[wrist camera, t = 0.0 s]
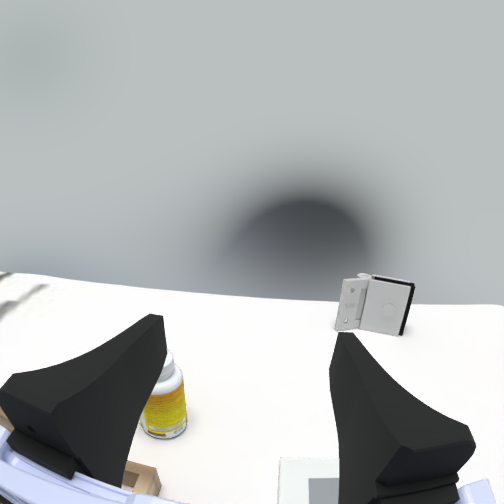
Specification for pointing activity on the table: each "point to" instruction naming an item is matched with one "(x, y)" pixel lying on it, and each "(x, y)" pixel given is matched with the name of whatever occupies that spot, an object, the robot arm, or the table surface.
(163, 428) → the supplement bottle
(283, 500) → the board
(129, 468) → the plank frame
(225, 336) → the table surface
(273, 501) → the table surface
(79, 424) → the robot arm
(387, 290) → the hinge
